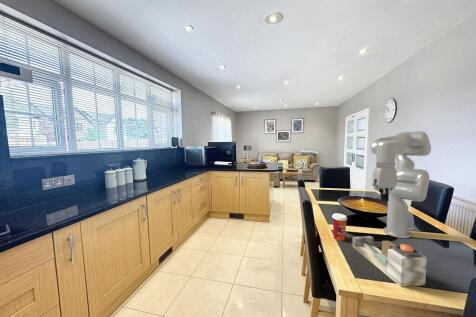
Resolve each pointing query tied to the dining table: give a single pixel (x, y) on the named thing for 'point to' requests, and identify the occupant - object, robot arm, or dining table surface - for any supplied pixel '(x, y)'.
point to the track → (395, 262)
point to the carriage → (385, 252)
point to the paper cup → (339, 226)
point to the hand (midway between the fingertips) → (384, 200)
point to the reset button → (406, 248)
